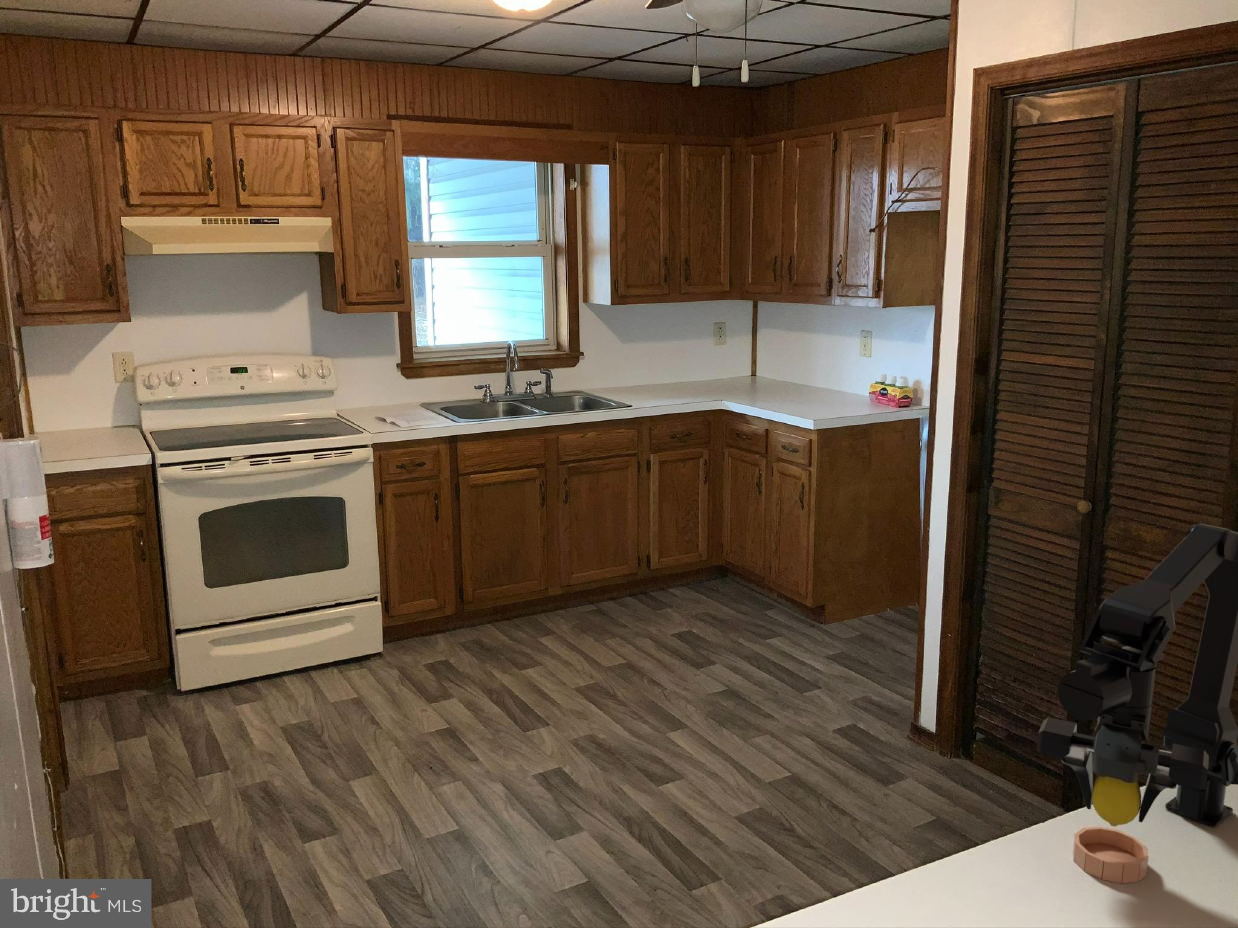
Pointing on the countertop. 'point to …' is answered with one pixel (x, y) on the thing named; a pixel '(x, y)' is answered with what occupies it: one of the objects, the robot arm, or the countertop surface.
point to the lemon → (1116, 800)
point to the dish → (1110, 854)
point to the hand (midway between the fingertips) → (1114, 814)
